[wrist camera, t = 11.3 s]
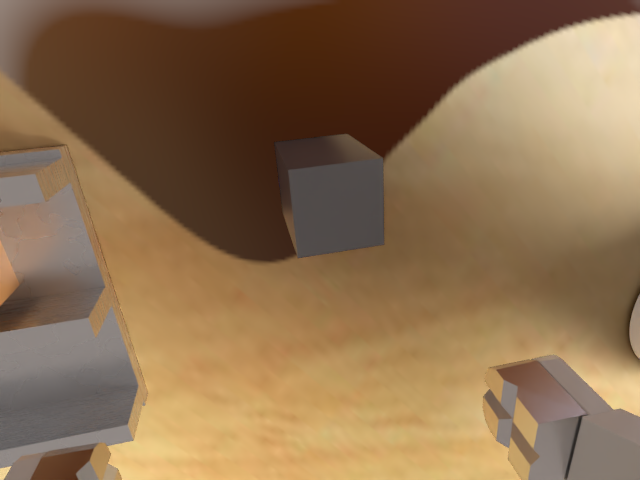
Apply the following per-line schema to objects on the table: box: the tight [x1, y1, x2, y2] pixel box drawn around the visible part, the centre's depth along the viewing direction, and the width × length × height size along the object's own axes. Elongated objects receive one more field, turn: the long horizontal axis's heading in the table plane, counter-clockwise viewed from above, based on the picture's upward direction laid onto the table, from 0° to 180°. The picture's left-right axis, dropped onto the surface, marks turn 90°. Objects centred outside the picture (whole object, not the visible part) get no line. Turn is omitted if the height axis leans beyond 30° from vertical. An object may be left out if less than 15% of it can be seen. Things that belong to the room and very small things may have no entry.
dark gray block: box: [274, 134, 384, 258], centre depth 21 cm, size 4×4×6 cm
